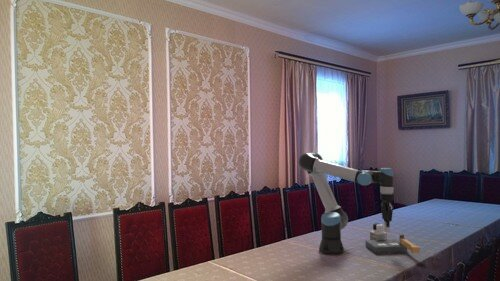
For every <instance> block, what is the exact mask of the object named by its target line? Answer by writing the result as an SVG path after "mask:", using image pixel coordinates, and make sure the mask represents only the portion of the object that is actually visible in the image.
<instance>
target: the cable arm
mask: <svg viewBox="0 0 500 281" xmlns="http://www.w3.org/2000/svg"><path fill="white" fill-rule="evenodd" d="M399 242H400V244H402V245H403V246H405V247H406V248H407V250H409V251H410V252H411V254H420V250H421V249H420V248H421V247H420V246H419V245H415V244H414V243H412V242H410V241H409V240H408V239H406V238H405V235H404V234H402V233H400V234H399Z"/></svg>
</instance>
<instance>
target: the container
mask: <svg viewBox="0 0 500 281" xmlns="http://www.w3.org/2000/svg"><path fill="white" fill-rule="evenodd" d="M369 240H388V232H384V224H382V223H377V222H375V223H373V224H372V230H370V231H369Z"/></svg>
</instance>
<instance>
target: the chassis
mask: <svg viewBox="0 0 500 281" xmlns="http://www.w3.org/2000/svg"><path fill="white" fill-rule="evenodd" d="M365 247H366V249H368V250H370V251H371V252H372V253H373V254H377V255H378V254H379V255H381V254H403V253H404V254H405V253H408V248H406V247H405V246H403V245H402V244H400V240H397V239H394V238H393V239H392V238H391V239H387V240H370V239H368V240H365Z"/></svg>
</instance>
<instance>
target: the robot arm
mask: <svg viewBox="0 0 500 281" xmlns="http://www.w3.org/2000/svg"><path fill="white" fill-rule="evenodd" d="M298 165H299V167H300V169H301V170H303V171H306V173H307V174H308V176H310V177H311V178H312V181H313V183H314V186H315V188H316V191H317V192H318V196H319V197H320V200H321V202H322V205H323V206H324V210H325V211H324V213H323V214H321V218H320V221H321V222H320V223H321V239H320V243H319V245H318V251H319V253H321V254H323V255H329V256H338V255H339V256H340V255H343V254H344V253H345V248H344V245H343V242H342V230H343V229H345V228H346V226H348V222H349V218H348V214H347V212H345V211H344V210H343V208H342V206H340V205H338V202H337V200H336V198H335V195H334V192H333V190H332V188H331V186H330V184H329V181H328V180H327V177H326V175H328V176H333V177H336V178H339V179H343V180H347V181H350V182H354V183H358V184H359V185H361V186H369V185H370V184H380V186H379V188H380V189H379V190H380V191H379V192H380V193H379V194H380V195H379V196H380V197H379V198H380V200H382V202H380V208H381V219H382V220H383V232H386V233H390V232H391V231H390V229H391V228H390V226H391V225H390V224H391V222H392V220H393V213H394V211H393V210H394V207H395V206H394V205H392V201H394V189H395V188H394V169H393V168H391V167H381V168H380V170H359V169H357V168H356V169H355V168H351V167H348V166H345V165H341V164H337V163H333V162H328V161H325V160H324V159H323V156H322V155H320V154H319V153H317V152H313V151H312V152H306V153H303V154H301V155H300V156H299V158H298Z"/></svg>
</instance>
